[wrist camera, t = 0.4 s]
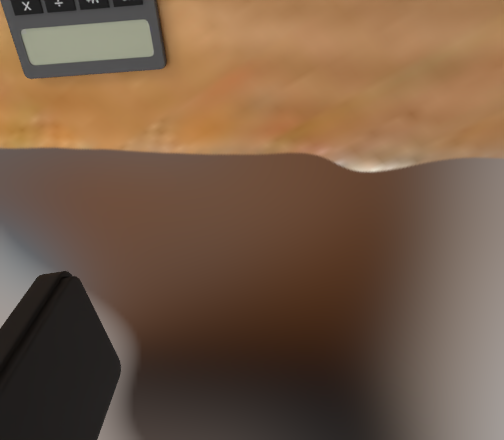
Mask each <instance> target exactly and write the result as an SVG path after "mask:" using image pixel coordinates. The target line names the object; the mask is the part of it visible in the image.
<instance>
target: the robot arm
mask: <svg viewBox="0 0 504 440" xmlns="http://www.w3.org/2000/svg"><path fill="white" fill-rule="evenodd" d="M120 372H121V365H120V360H119V358H118V356H117V354H116V352H115V350H114V348H113V346H112V344H111V342H110V340H109V338H108V336H107V333H106V332H105V329H104V328H103V325H102V323H101V321H100V319H99V317H98V315H97V313H96V311H95V310H94V307H93V305H92V303H91V301H90V299H89V297H88V295H87V293H86V291H85V289H84V287H83V285H82V283H81V281H80V280H79V278H77V277H75V276H72V275H71V274H70V273H69V272H66V271H63V272H56V273H50V274H43V275H40V276H39V277H37V278H36V280H35V281H34V283H33V284H32V285H31V287H30V288H29V290H28V291H27V292H26V294H25V295H24V296H23V298H22V299H21V301H20V302H19V303H18V305H17V306H16V308H15V309H14V310H13V312H12V313H11V314H10V316H9V317H8V319H7V320H6V322H5V323H4V324H3V326H2V327H1V329H0V440H97V439H98V436H99V433H100V430H101V427H102V424H103V422H104V419H105V416H106V413H107V410H108V408H109V405H110V402H111V399H112V396H113V394H114V391H115V388H116V385H117V382H118V380H119V377H120Z"/></svg>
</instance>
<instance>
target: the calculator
mask: <svg viewBox="0 0 504 440" xmlns="http://www.w3.org/2000/svg"><path fill="white" fill-rule="evenodd" d="M0 1H1V4H2V7H3V10H4V13H5V16H6V19H7V22H8V25H9V28H10V32H11V35H12V38H13V41H14V44H15V47H16V50H17V53H18V56H19V59H20V62H21V65H22V69H23V72H24V74H25V76H26V77H27V78H30V79H34V78H48V77H61V76H75V75H88V74H102V73H115V72H129V71H142V70H156V69H162V68H164V67H165V65H166V56H165V50H164V44H163V38H162V32H161V26H160V20H159V14H158V8H157V2H156V0H0Z"/></svg>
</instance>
